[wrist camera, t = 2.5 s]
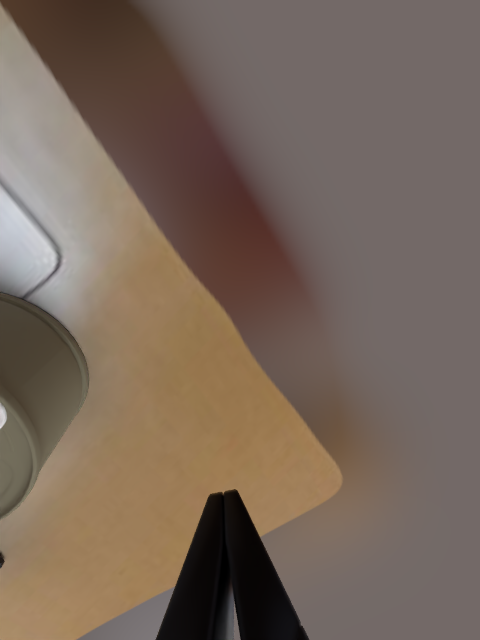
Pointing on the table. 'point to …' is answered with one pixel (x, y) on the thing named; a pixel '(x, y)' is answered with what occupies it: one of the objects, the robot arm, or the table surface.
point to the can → (34, 394)
